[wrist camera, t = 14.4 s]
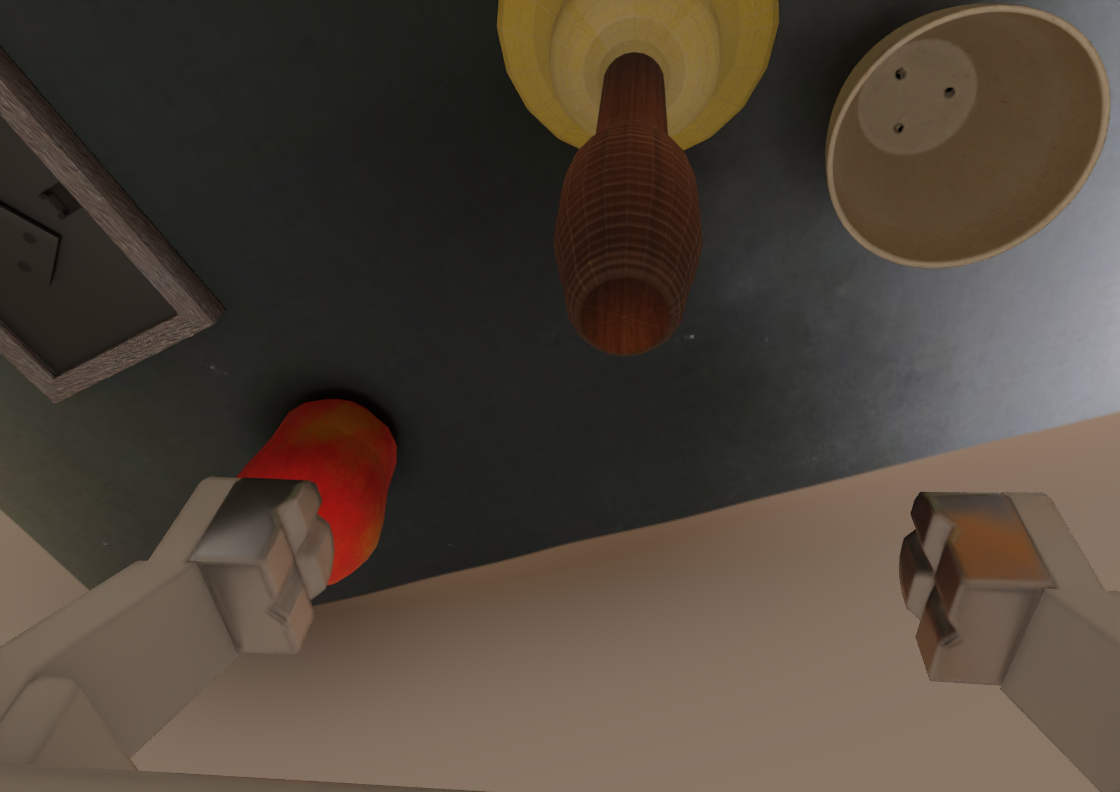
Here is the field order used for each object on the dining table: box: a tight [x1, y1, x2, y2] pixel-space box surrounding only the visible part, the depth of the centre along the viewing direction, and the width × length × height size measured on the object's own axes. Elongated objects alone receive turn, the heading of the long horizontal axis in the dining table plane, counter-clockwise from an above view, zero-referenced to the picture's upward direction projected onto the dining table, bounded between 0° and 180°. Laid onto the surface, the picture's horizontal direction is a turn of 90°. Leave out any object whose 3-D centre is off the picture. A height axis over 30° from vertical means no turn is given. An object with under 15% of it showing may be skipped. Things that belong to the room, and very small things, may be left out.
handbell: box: [497, 0, 779, 356], centre depth 26 cm, size 12×12×25 cm
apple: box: [236, 399, 397, 585], centre depth 46 cm, size 9×8×12 cm
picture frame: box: [0, 47, 226, 404], centre depth 43 cm, size 13×2×18 cm
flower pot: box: [825, 3, 1110, 268], centre depth 34 cm, size 10×10×7 cm
